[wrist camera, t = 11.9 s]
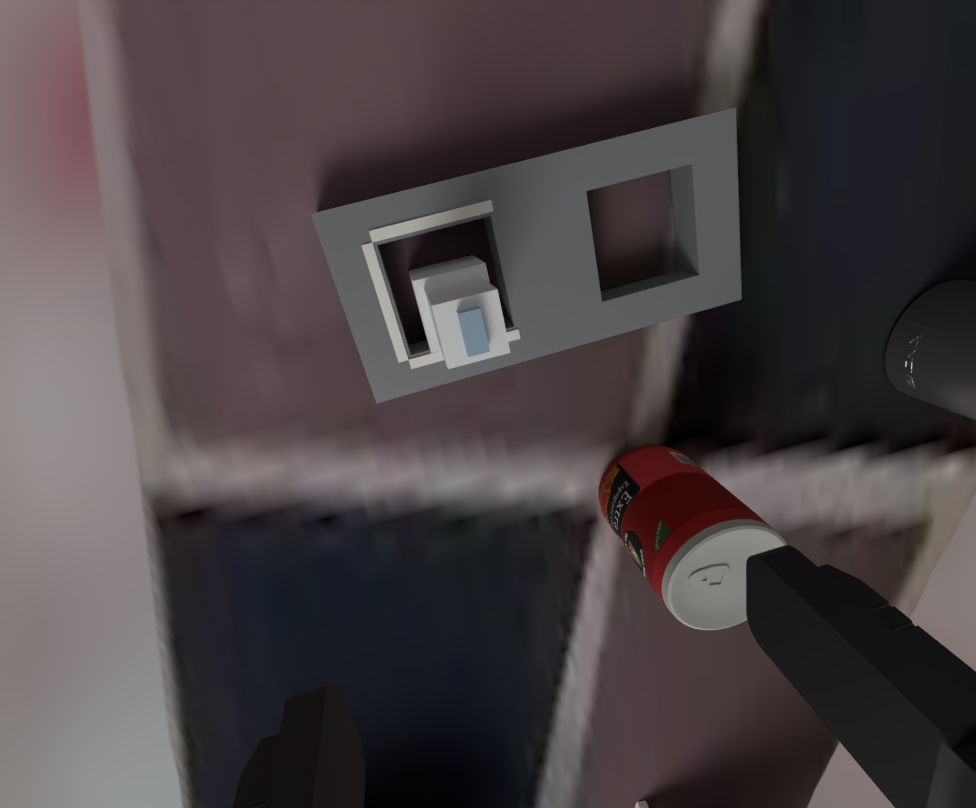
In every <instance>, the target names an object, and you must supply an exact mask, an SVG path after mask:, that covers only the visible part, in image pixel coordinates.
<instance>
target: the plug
mask: <svg viewBox="0 0 976 808" xmlns="http://www.w3.org/2000/svg"><path fill="white" fill-rule="evenodd" d="M408 272H409V276H410V279H411V283H412V287H413V290H414V294H415V298H416V301H417V305H418V309H419V313H420V316H421V320H422V324H423V327H424V331H425V335H426V338H427V341H428V344H429V348H430V351H431V353H434V352H437V351H441V352H442V355H443V358H444V360H445V363H446V365H447V368H448V369H451V368H455V367H459V366H462V365H466V364H470V363H474V362H478V361H481V360H485V359H489V358H493V357H496V356H500V355H504V354H508V353H510V348H509V343H508V338H507V333H506V328H505V323H504V318H503V313H502V309H501V304H500V299H499V294H498V289H497V288H495V287H494V286H493V285H491V284H490V281H489V276H488V272H487V267H486V263H485V262H483V261H482V260H480V259H478V258H476V257H475V256H473V255H470V256H466V257H462V258H458V259H453V260H449V261H445V262H441V263H437V264H433V265H429V266H425V267H421V268H417V269H413V270H409V271H408Z"/></svg>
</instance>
